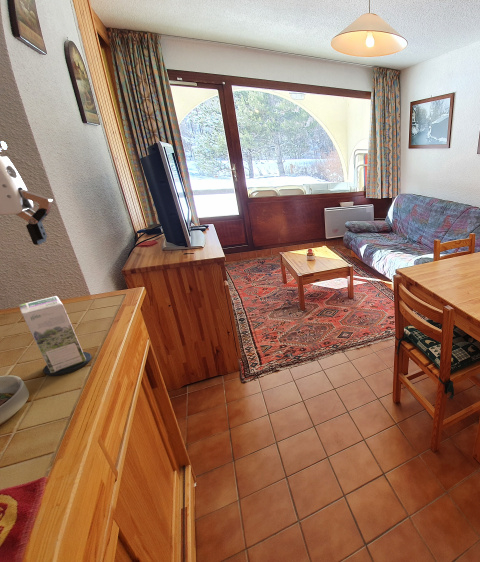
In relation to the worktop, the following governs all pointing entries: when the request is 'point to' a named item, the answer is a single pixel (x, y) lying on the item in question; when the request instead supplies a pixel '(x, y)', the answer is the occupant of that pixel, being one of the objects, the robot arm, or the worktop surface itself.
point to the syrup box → (53, 333)
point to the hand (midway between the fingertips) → (6, 245)
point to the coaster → (69, 369)
